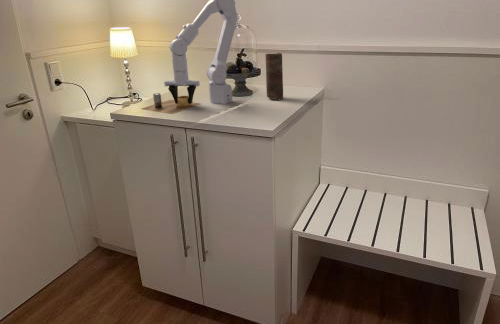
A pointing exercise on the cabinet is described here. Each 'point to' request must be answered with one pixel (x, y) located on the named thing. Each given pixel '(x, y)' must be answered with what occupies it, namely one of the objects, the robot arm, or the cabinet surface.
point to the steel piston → (157, 100)
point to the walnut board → (169, 107)
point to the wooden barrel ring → (183, 101)
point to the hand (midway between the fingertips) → (183, 103)
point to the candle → (274, 76)
